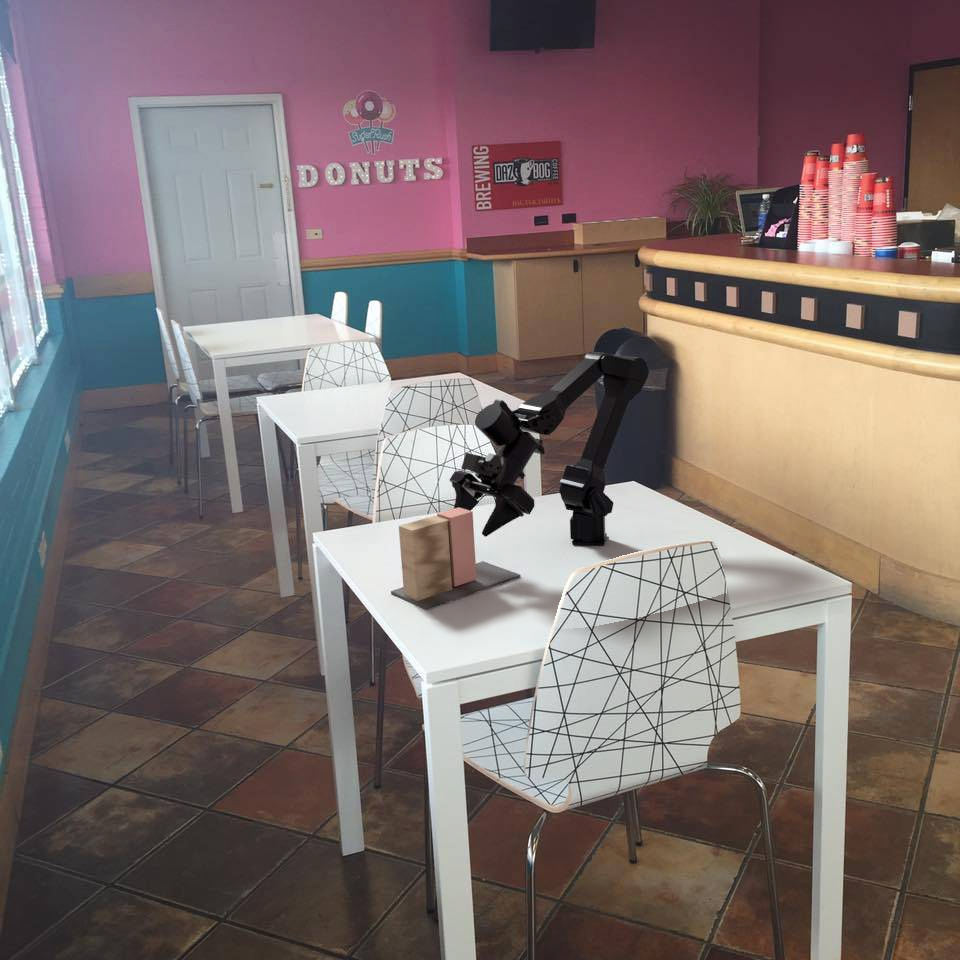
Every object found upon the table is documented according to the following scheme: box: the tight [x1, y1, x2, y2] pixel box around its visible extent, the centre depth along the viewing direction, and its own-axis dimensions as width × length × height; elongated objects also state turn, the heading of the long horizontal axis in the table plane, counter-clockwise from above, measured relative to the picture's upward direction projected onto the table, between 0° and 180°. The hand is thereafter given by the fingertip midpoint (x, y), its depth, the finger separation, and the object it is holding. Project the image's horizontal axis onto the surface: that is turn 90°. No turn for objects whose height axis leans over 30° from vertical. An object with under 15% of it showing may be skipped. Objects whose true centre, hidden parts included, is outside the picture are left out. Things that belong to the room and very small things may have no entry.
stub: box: [436, 507, 477, 587], centre depth 187 cm, size 5×4×13 cm
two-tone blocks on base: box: [390, 515, 522, 611], centre depth 187 cm, size 22×11×14 cm, turn 129°
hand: (467, 530), depth 188 cm, fingers open, 9 cm apart
